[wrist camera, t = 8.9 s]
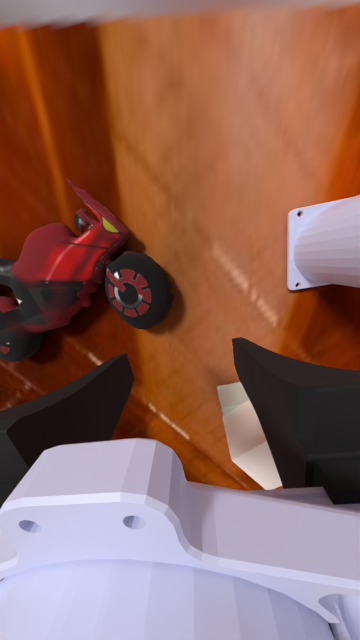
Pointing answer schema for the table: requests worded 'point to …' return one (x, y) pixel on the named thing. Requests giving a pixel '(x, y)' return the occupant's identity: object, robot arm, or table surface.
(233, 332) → the table surface
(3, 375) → the table surface
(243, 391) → the sage base brick
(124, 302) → the toy motorcycle
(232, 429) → the cream brick
